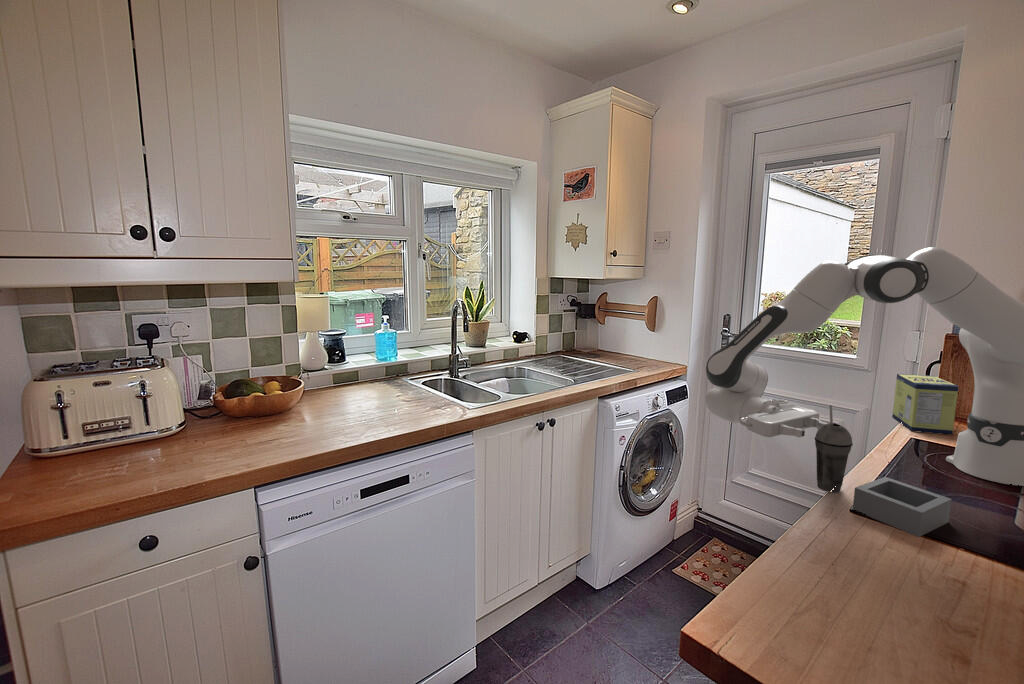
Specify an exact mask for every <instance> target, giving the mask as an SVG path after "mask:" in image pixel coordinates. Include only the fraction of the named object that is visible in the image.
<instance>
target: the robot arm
mask: <svg viewBox="0 0 1024 684" xmlns="http://www.w3.org/2000/svg"><path fill="white" fill-rule="evenodd" d="M916 294H917V295H918V296H919V297H920V298H921V299H922V300H924V302H926V303H927V304H928V305H929V306H930V307H932V308H933V309H934V310H935V311H937V313H938V314H940V315H941V316H943V317H944V319H946V320H947V321H948V322H949V323H950V324H952V325H955V326H957V327H958V328H960V329H959V332H958V338H959V342H960V344H961V346H962V347H963V348H964V349H965V351H966V352H967V355H968V357H969V360H970V364H971V368H972V372H973V373H972V374H973V380H974V381H973V382H974V387H973V391H974V392H973V399H972V407H971V412H970V413H969V414H968V417H967V423H966V427H967V428H966V430H965V429H964V430H963V431H960V432H958V435H957V439H956V445H955V449H954V453H953V454H952V455H948V456H946V458H945V461H946V462H948V463H950V464H953V465H954V466H955V467H956V468H957V469H958V470H960V471H962V472H963V473H965V474H968V475H970V476H973V477H976V478H978V479H979V478H980V479H983V480H987V481H991V482H996V483H999V484H1004V485H1010V484H1012V485H1011V486H1018V485H1019V486H1020V487H1021V486H1022V487H1024V302H1022V301H1020V300H1018V299H1017V298H1014V297H1012V296H1010V295H1009V294H1007V293H1006V292H1005V291H1003V290H1001V289H1000V288H999V287H997V286H996V285H995V284H994V283H992V282H991V281H990V280H988V278H987V277H985V276H984V275H983V274H981V273H980V272H979V271H977V270H976V269H975V268H974V267H972V265H970V264H969V263H967V262H966V261H964V260H963V259H961V258H959V257H958V256H957V255H955V254H953V253H951V252H949V251H947V250H945V249H943V248H941V247H938V246H937V247H936V246H931V247H925V248H922V249H918V250H917V251H914V253H912V254H911V255H909V256H908V257H907V258H901V257H895V256H891V255H885V254H884V255H883V254H881V255H875V254H866V255H863V256H859V257H856V258H854V259H852V260H850V261H847V262H845V263H843V262H840V261H836V260H826V261H823V262H821V263H819V264H818V265H816V266H815V267H814V268H813V269H812V270H810V271H809V272H808V273H807V274H806V275H805V276H804V277H802V279H801V280H800V281H799V282H798V283H797V284H796V285H795V286H794V287H793V289H792V290H791V291H790V292H789V293H788V294H787V295H786V296H784V298H782V299H781V300H780V301H779V302H778V303H776V304H774V305H772V306H770V307H767V308H766V309H764V310H763V311H762V312H761V313H760V314H758V315H757V316H756V317H755V318H754V319H752V320H751V321H750V322H749V324H747V326H745V327H744V328H743V329H742V330H741V331H740V332H739V333H738V334H737V335H736V336H735V337H734V338H732V339H731V341H729V343H727V344H726V345H724V346H723V347H722V348H719V349H718V350H716V351H715V352H713V354H711V356H710V357H709V358H708V360H707V361H706V364H705V365H706V366H705V374H706V375H705V376H706V377H707V380H708V381H709V383H710V384H711V385H712V386H715V387H712V388H711V389H709V390H708V391H707V392H706V396H705V405H706V408H707V410H708V411H709V412H710V413H711V414H712V415H714V416H715V417H717V418H719V419H722V420H724V421H727V422H729V423H733V424H740V425H741V426H743V427H744V428H746V429H747V430H748V431H750V432H752V433H754V434H757V435H759V436H762V437H766V438H773V437H777V436H778V437H779V436H781V435H783V436H790V437H791V436H792V437H796V438H803V437H805V433H806V431H805V430H806V429H810V428H816V429H817V430H818V429H819V428H820V427H822V426H823V425H825V424H829V423H827V422H824V421H822V420H820V414H819V412H818V411H816V410H814V409H811V408H808V407H804V406H801V405H798V404H794V403H789V400H785V399H779V398H777V399H776V398H775V399H772V398H771V399H769V398H767V397H763V394H764V393H765V390H766V387H767V385H768V381H769V376H768V372H767V371H766V368H764V367H763V366H762V365H760V364H758V363H756V362H754V361H752V360H750V359H749V358H750V357H751V356H752V355H753V354H754V353H756V351H758V350H759V349H760V348H761V347H762V346H763V345H764V344H765V343H766V342H767V341H769V340H770V339H771V338H773V337H775V336H778V335H783V334H807V333H810V332H813V331H816V330H817V329H818V328H820V327H821V326H823V324H825V323H826V322H827V321H828V320H829V318H831V317H832V315H833V314H834V313H835V312H836V311H837V310H838V308H839V307H840V306H841V305H842V304H843V303H844V302H845V301H847V300H848V299H850V298H853V297H855V296H859V297H861V298H863V299H866V300H869V301H875V302H878V303H881V304H895V303H899V302H902V301H905V300H908V299H909V298H912V297H913V296H915V295H916Z"/></svg>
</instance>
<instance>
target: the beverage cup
mask: <svg viewBox="0 0 1024 684" xmlns="http://www.w3.org/2000/svg"><path fill="white" fill-rule="evenodd" d="M828 406H829V423H828V424H825V425H823V426H822V427H820V428H819V429H818V428H817V431H816V434H815V436H814V445H815V448H816V449H815V450H816V455H815V457H816V483H817V485H816V486H817V488H818V489H820V490H822V491H825V492H827V493H837V494H838V493H840V492H841V491H842V486H843V482H844V479H845V473H846V468H847V462H848V460H849V459H848V458H849V454H850V452H851V449H852V447H853V438H852V435H851V433H850V432H849V430H848V429H847V428H846V427H844V426H843V425H841V424H839V423H834V419H833V418H834V417H833V405H831V404H829V405H828ZM835 486H836V487H835ZM833 488H834V490H832V489H833ZM831 490H832V492H830V491H831Z"/></svg>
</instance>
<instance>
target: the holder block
mask: <svg viewBox="0 0 1024 684" xmlns="http://www.w3.org/2000/svg"><path fill="white" fill-rule="evenodd" d="M952 501H953V499H952V498H949V497H946V496H944V495H940V494H938V493H934V492H931V491H928V490H926V489H923V488H919V487H917V486H914V485H911V484H908V483H905V482H903V481H899V480H896V479H893V478H890V477H888V476H887V477H886V476H883V477H880V478H878V479H874V480H872V481H869V482H867V483H864V484H861V485H858V486H856V487H854V493H853V502H852V503H853V505H852V511H854V510H857V511H859V512H862V513H863V514H862V513H861V514H862V515H864V514H866V515H865V516H867V517H869V518H872V519H874V520H876V521H879V522H881V523H883V524H886V525H889V526H891V527H893V528H896V529H898V530H901V531H903V532H905V533H908V534H910V535H913V536H915V537H918V538H920V537H922V536H924V535H926V534H928V533H930V532H932V531H934V530H936V529H939V528H940V527H943V526H945V525H946V524H949V522H950V514H951V509H952V508H951V507H952ZM857 511H856V512H857ZM859 512H858V513H859Z"/></svg>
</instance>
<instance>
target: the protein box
mask: <svg viewBox="0 0 1024 684" xmlns="http://www.w3.org/2000/svg"><path fill="white" fill-rule="evenodd" d="M958 392H959V385H956V384H954V383H952V382H950V381H947V380H945V379H942V378H940V377H938V376H936V375H922V374H907V373H906V374H905V373H896V382H895V391H894V400H893V406H892V415H891V418H892V419H894V420H895V421H897V422H898V423H899V424H900V423H901V422H902V424H903V425H902V424H901V425H902V426H905V427H904V428H906V427H907V428H908V429H909V430H908V429H907V428H906V429H907V430H908V431H910V430H911V431H910V432H913V431H921V432H920V433H924V432H932V433H931V434H936V433H942V434H941V435H947V434H952V435H953V432H954V424H955V417H956V410H957V402H958Z"/></svg>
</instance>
